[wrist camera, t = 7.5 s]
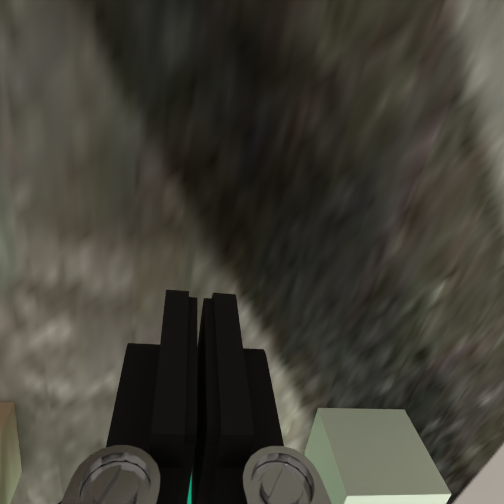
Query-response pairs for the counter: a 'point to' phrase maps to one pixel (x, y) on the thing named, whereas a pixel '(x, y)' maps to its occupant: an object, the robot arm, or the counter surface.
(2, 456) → the birch block
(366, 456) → the sage block
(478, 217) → the counter surface
